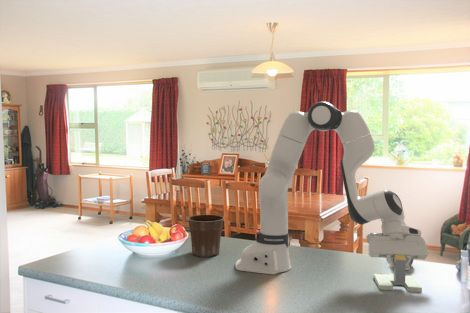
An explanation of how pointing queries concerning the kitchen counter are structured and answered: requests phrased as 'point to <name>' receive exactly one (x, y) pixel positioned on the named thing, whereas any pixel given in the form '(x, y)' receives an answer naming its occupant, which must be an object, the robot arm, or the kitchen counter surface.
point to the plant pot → (205, 234)
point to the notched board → (388, 281)
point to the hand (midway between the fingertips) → (400, 268)
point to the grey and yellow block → (399, 268)
